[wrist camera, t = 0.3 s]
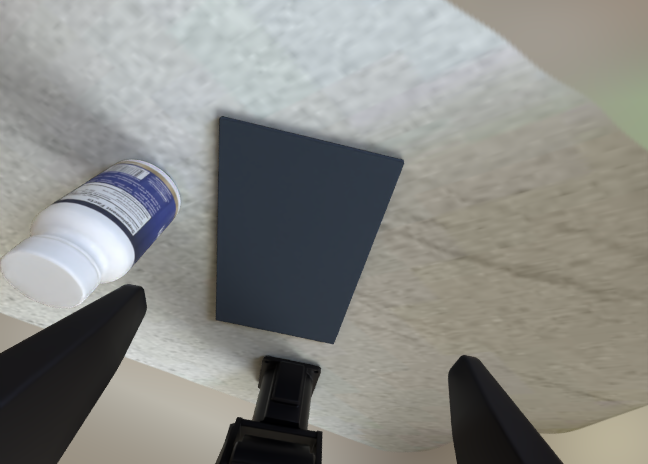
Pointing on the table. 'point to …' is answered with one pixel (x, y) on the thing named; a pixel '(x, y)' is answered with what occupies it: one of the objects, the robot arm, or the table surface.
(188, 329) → the table surface
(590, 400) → the table surface
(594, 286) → the table surface
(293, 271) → the rubber mat
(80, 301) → the pill bottle
